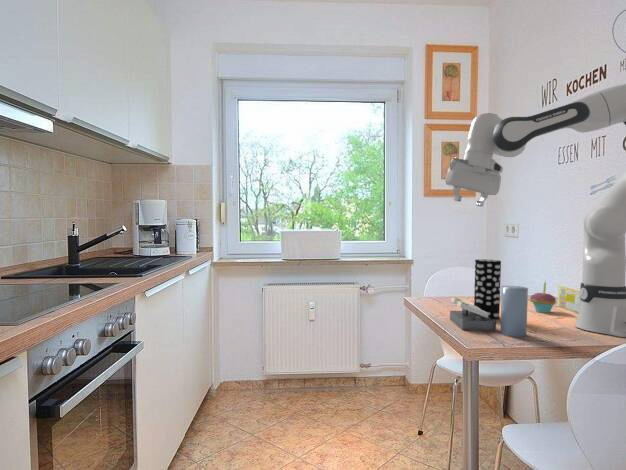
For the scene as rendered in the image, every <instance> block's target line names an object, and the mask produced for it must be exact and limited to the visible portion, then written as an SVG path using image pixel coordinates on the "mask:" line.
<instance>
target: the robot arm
mask: <svg viewBox="0 0 626 470" xmlns="http://www.w3.org/2000/svg"><path fill="white" fill-rule="evenodd" d="M621 123H623V124H624V125H625V126H626V83H623V84H622V83H621V84H619V85H614V86H612V87H607V88H604V89H601V90H599V91H595V92H592V93H590V94H587V95H585V96H583V97H581V98H580V97H579V98H578V99H576V100H574V101H572V102H570V103H567V104H565V105H562V106H559V107H556V108H552V109H548V110H547V111H544V112H543V111H541V112H539V113H537V114H533V115H528V116H509V117H506V118H501V117H500V116H499V115H498V114H496V113H491V112H489V113H482V114H479V115H477V116H475V117H474V118H473V120H472V121H471V124H470V127H469V131H468V135H467V147H466V148H465V151H464V155H463V158H459V157H454V158H452V159H451V160H450V162H449V167H448V169H447V172H446V176H445V179H444V182H445V185H446V186H451V187H453V188H452V190H453V194H454V199H453V200H454V202H459V203H460V202H461V201H462V199H463V196H462V195H461V193H460V191H461V190H467V191H472V192H475V193H480V199H478V200H476V203H475V205H476V207H484V203H485V201H487V199H488V198H489V196H497V194H498V193H499V191H500V187H501V184H502V183H501V181H502V176H501V173H503V169H504V168H503V166H502V165H501V164H499V163H498V162H497V161H496V160H495V159H494V158H493V157H494V154H495V155H497V156H501V157H505V158H515V157H517V156H518V155H520V154H522V153H523V152H524V151H525V148H526V146H527V143H528V142H530V141H531V140H533V139H535V138H537V137H540V136H543V135H547V134H549V133H553V132H555V131H559V130H560V131H561V130H563V129H571V130H574V131H576V132H578V133H582V134H583V133H589V132H593V131H599V130H603V129H604V128H608V127H612V126H614V125H616V124H621ZM582 242H583V243H582V244H583V246H582V250H583V251H582V253H583V254H582V277H581V279H582V281H581V282H580V288H579V291H580V299H581V304H580V309H579V313H577V314H578V315H577V318H576V319H575V320H576V321H575V323H574V326H575V327H577V328H579V329H580V330H584V331H588V332H592V333H598V334H604V335H609V336H614V337H620V338H626V170H625V171H624V172H623V173H622V175H621V176H620V177H619V178H617V180H616V181H615V182H614V184H612V186H611V187H610V188H609V190H607V192H606V193H604V195H603V197H601V199H600V200H599V201H598V202H597V203H596V205H594V207H593V208H592V209H591V210H590V211H589V212H588V213H587V214H586V216H585V217H584V220H583V241H582Z"/></svg>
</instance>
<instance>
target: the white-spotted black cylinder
mask: <svg viewBox="0 0 626 470" xmlns="http://www.w3.org/2000/svg"><path fill="white" fill-rule="evenodd" d="M501 267H502V261H501V260H497V259H486V258H485V259H483V258H482V259H481V258H480V259H475V260H474V289H473V291H474V292H473V293H474V294H473V299H474V300H473V305H474V306H477V307H479V308H480V309H481V310H483V311H485V312H487V313H489V315H488V317H490V318H491V319H493V320H495V321H496V320H499V319H500V313H501V277H502V276H501V275H502V274H501V273H502V272H501V271H502V268H501Z"/></svg>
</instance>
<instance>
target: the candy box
mask: <svg viewBox="0 0 626 470" xmlns="http://www.w3.org/2000/svg"><path fill="white" fill-rule="evenodd" d="M557 289H558V290H557V301H556V302H557V303H556V304H557V305H556V306H557V307H559V308H562V309H563V310H564V309H565V310H568V311H571V312H573V313H576V314H579V309H580V304H581V299H580V290H578V289H573V288H569V287H565V286H558V288H557Z"/></svg>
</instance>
